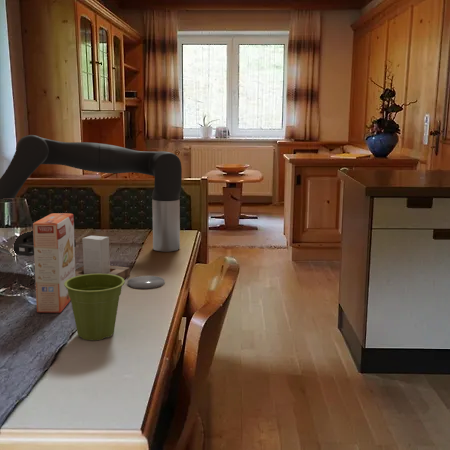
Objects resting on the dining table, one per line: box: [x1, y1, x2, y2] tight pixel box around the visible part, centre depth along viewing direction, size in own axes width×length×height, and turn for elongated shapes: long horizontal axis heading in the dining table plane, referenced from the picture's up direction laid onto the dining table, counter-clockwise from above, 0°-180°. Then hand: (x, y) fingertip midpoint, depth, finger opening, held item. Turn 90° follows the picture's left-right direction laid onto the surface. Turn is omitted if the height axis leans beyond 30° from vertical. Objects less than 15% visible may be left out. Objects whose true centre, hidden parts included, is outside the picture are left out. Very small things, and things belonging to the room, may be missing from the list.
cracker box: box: [32, 212, 76, 314], centre depth 124 cm, size 14×6×21 cm, turn 2°
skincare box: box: [81, 235, 111, 274], centre depth 144 cm, size 6×4×12 cm
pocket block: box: [75, 265, 131, 280], centre depth 145 cm, size 13×13×2 cm
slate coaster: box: [126, 275, 166, 290], centre depth 142 cm, size 10×10×1 cm
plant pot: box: [64, 274, 126, 341], centre depth 107 cm, size 12×12×11 cm
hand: (65, 246), depth 147 cm, fingers open, 8 cm apart
